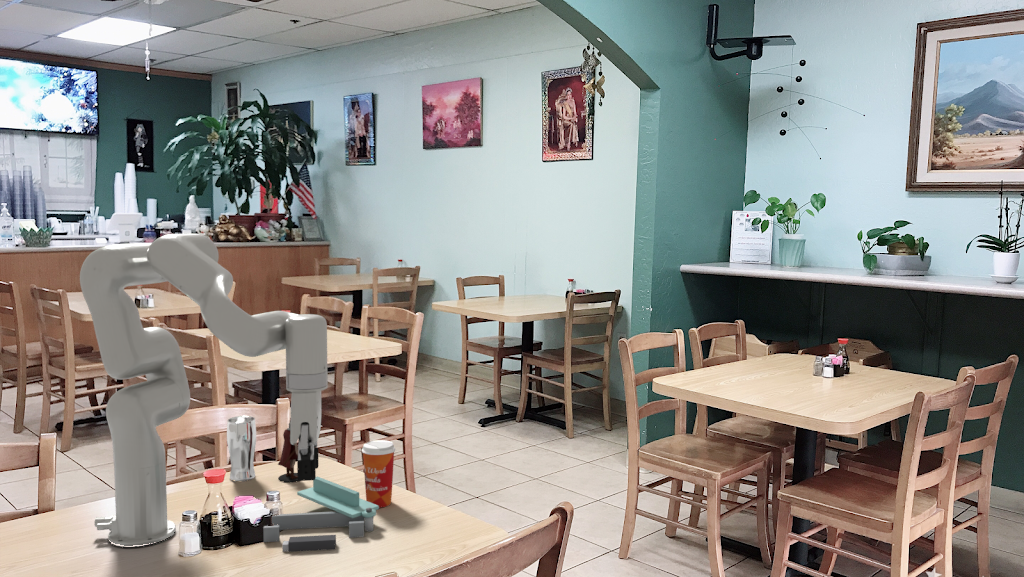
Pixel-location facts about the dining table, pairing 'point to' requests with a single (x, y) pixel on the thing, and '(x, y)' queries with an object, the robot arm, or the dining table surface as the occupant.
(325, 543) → the usb flash drive
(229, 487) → the dining table surface
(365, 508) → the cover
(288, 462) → the figurine
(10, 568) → the dining table surface
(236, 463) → the beer glass
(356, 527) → the grey frame
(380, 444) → the paper cup
